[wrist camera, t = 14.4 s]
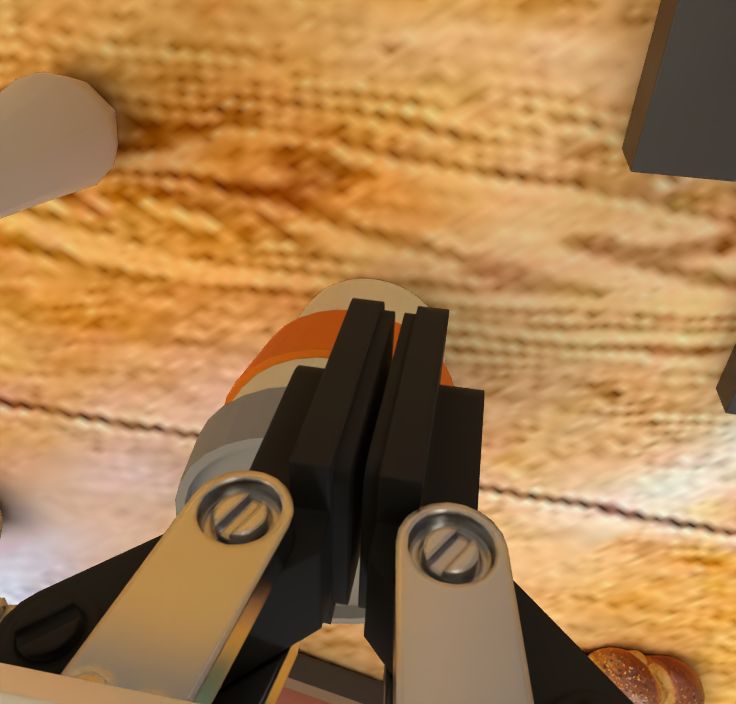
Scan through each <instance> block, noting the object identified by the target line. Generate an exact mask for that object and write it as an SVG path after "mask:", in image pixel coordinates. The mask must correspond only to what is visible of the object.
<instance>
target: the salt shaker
mask: <svg viewBox="0 0 736 704" xmlns="http://www.w3.org/2000/svg"><path fill="white" fill-rule="evenodd" d="M117 147H118V136H117V124H116V112H115V110H114V109H113V108H112V107H111V106H110V105H109V104H108V103H107V102H106V101H105V100H104V99H103V98H102V97H101V96H100V95H99V94H98V93H97V92H96V91H95V90H94V89H93V88H92V87H91V86H90V85H89V84H88V83H87V82H84V81H81V80H78V79H74V78H71V77H68V76H62V75H57V74H52V73H47V72H38V73H34V74H31V75H28V76H24V77H21V78H18V79H15V80H14V81H13V82H12V83H10V84H9V85H8V86H7V87H6V88H5V89H3V90H2V91H1V92H0V219H1V218H3V217H6V216H9V215H11V214H14V213H17V212H19V211H22V210H25V209H28V208H30V207H33V206H36V205H38V204H41V203H44V202H47V201H50V200H53V199H55V198H58V197H61V196H64V195H67V194H70V193H73V192H76V191H79V190H82V189H85V188H88V187H91V186H94V185H97V184H98V183H99V182H100V180H101V179H102V178H103V177H104V176H105V175H106V174H107V173H108V171H109V170H110V169H111V168H112V167H113V165H114V162H115V157H116V152H117Z"/></svg>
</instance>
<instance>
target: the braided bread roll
mask: <svg viewBox="0 0 736 704" xmlns="http://www.w3.org/2000/svg"><path fill="white" fill-rule="evenodd" d="M588 657H589V658H590V659H591V660H592V661H593V662H594V663H595V664H596V665H597V666H598V667H599V668H600V669H601V670H602V671H603V672H604V673H605V674H606V675H607V677H608V678H609V679H610V680H611V681H612V682H613V683H614V684H615V685H616V686H617V687H618V688H619V689H620V690H621V691H622V692H623V693H624V694H625V695H626V696H627V697H628V698H629V699H630V700H631V701H632V702H633V703H634V704H704V690H703V687H702V684H701V681H700V679H699V678H698V676H697V675H696V673H695V672H694V670H693V669H691V668H690V667H689V666H688V665H687V664H685V663H684V662H682V661H680V660H678V659H675V658H673V657H669V656H660V655H648V656H645V655H644V654H643V653H641V652H639V651H637V650H629V651H627V650H624V649H620V648H612V647H608V648H603V649H602V648H600V649H598V650H596V651H593V652H592V653H590V654H589V656H588Z"/></svg>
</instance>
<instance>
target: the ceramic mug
mask: <svg viewBox="0 0 736 704" xmlns="http://www.w3.org/2000/svg"><path fill="white" fill-rule="evenodd" d="M1 532H2V514H1V510H0V537H1Z"/></svg>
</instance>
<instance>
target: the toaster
mask: <svg viewBox="0 0 736 704" xmlns="http://www.w3.org/2000/svg"><path fill="white" fill-rule="evenodd" d="M383 697H384V683H383V682H380V681H377V680H375V679H372V678H369V677H366V676H363V675H361V674H358V673H355V672H352V671H349V670H346V669H344V668H341V667H338V666H335V665H332V664H329V663H327V662H324V661H321V660H318V659H315V658H313V657H310V656H307V655H304V654H301V653H298V654H297V657H296V659H295V662H294V664H293V666H292V668H291V670H290V673H289V675H288V677H287V679H286V682H285V684H284V686H283V688H282V691H281V693H280V695H279V697H278V699H277V702H276V704H383Z"/></svg>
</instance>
